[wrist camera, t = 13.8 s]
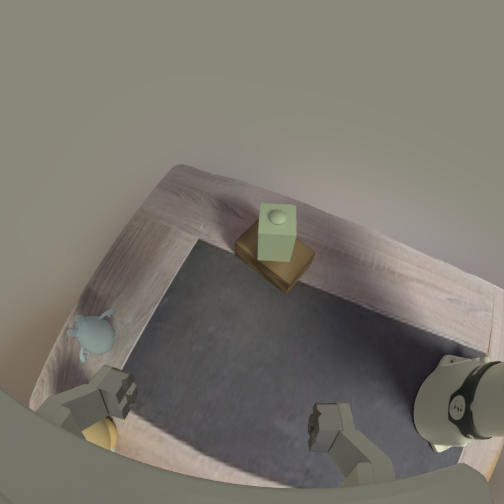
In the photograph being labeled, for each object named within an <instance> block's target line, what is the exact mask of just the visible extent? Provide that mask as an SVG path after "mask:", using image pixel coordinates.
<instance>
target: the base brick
mask: <svg viewBox="0 0 504 504" xmlns="http://www.w3.org/2000/svg"><path fill="white" fill-rule="evenodd" d="M258 229H259V219H258V220H257V221H256V222H255V223H254V224H253V225H252V226H251V227H250V228H249V229H248V230H247V231H246V232H245V233H244V234H243V235H242V236H241V237H240V238H239V239H238V240H237V241H236V242H235V249H236V256H237V257H239V258H240V259H241V260H243V261H244V262H245V263H246V264H248V265H249V266H250V267H252V268H253V269H254V270H255V271H257V272H258V273H259V274H261V275H262V276H263V277H264V278H266V279H267V280H268V281H270V282H271V283H272V284H273V285H275V286H276V287H277V288H279V289H280V290H281V291H283V292H284V293H285V294H287V293H288V291H289V290H290V289H291V288H292V287H293V285H294V284H295V283H296V282H297V281H298V279H299V278H300V277H301V276H302V275H303V273H304V272H305V271H306V270H307V268H308V267H309V266H310V265H311V262H312V260H313V258H314V255H315V253H316V252H314V251H313V250H312V249H310V248H309V247H308V246H306V245H305V244H303V243H302V242H301V241H299V240H298V239H296V240H295V244H294V248H293V251H292V255H291V259H290V262H280V261H263V260H257V259H258Z"/></svg>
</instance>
